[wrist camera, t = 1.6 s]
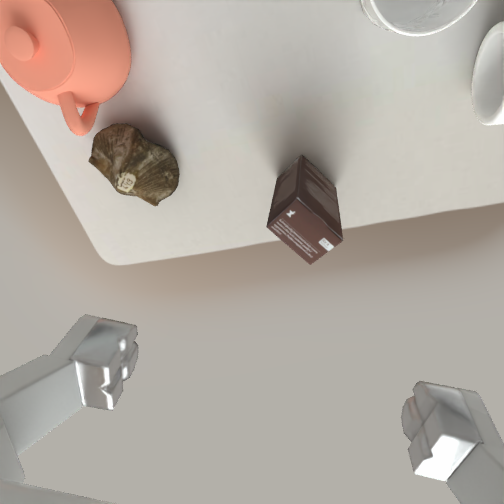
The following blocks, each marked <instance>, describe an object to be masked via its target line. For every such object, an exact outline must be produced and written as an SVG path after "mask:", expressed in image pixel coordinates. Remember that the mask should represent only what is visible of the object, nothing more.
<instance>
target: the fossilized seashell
mask: <svg viewBox="0 0 504 504" xmlns="http://www.w3.org/2000/svg"><path fill="white" fill-rule="evenodd" d="M89 162H90V163H91V164H92V165H94V166H95V167H96V168H97V169H98V170H99V171H100V172H101V173H102V174H103V175H104V176H105V177H106V178H107V179H108V180H109V181H110V182H111V184H112V186H113V187H114V188H115V189H116V191H117V192H119V193H121V194H123V195H130V196H138V197H139V198H141V199H143V200H144V201H146V202H148V203H150V204H152V205H153V206H158V204H159V202H160V201H161V200H163V199H165V198H167V197H168V196H170V195H171V194H172V193H173V192H174V191H175V190H176V188H177V186H178V182H179V168H178V164H177V161H176V160H175V157H174V156H173V155H172V154H171V153H170V151H169V150H168V149H165V148H163V147H162V146H160V145H158V144H154V143H151V142H148V141H147V140H146V139H145V138H144V137H143V136H142V134H141V132H140V131H139V130H138V129H137V128H135V127H133V126H131V125H129V124H113V125H111V126H110V127H107V128H105V129H102V130H101V131H100V132H98V133H97V134H96V135H95V137H94V140H93V147H92V154H91V157H90V158H89Z"/></svg>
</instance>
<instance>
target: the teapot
mask: <svg viewBox="0 0 504 504" xmlns="http://www.w3.org/2000/svg"><path fill="white" fill-rule="evenodd" d="M0 63H1V65H2V66H3V68H4V69H5V70H6V72H7V73H8V74H9V75H10V77H11V78H12V79H13V80H14V81H15V82H17V83H18V84H19V85H20V86H21V87H23V88H24V89H25V90H27V91H28V92H30V93H31V94H33V95H35V96H36V97H38V98H40V99H42V100H44V101H47V102H49V103H53V104H56V105H60V107H61V110H62V113H63V116H64V118H65V121H66V123H67V125H68V127H69V129H70V130H71V131H72V132H73V133H74V134H76V135H79V136H83V135H85V134H87V133H88V132H89V131H90V130H91V129H92V127H93V125H94V122H95V119H96V115H97V112H98V108H99V104H101V103H103V102H106V101H107V100H109V99H111V98H112V97H113V96H114V95H116V94H117V93H118V91H119V90H120V89H121V88H122V86H123V85H124V83H125V82H126V79H127V77H128V75H129V71H130V66H131V50H130V44H129V39H128V36H127V32H126V29H125V26H124V23H123V21H122V19H121V16H120V14H119V12H118V10H117V8H116V7H115V5H114V3H113V1H112V0H0ZM77 107H85V109H84V111H83V113H82V115H81V117H80V115H79V113H78V110H77Z"/></svg>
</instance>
